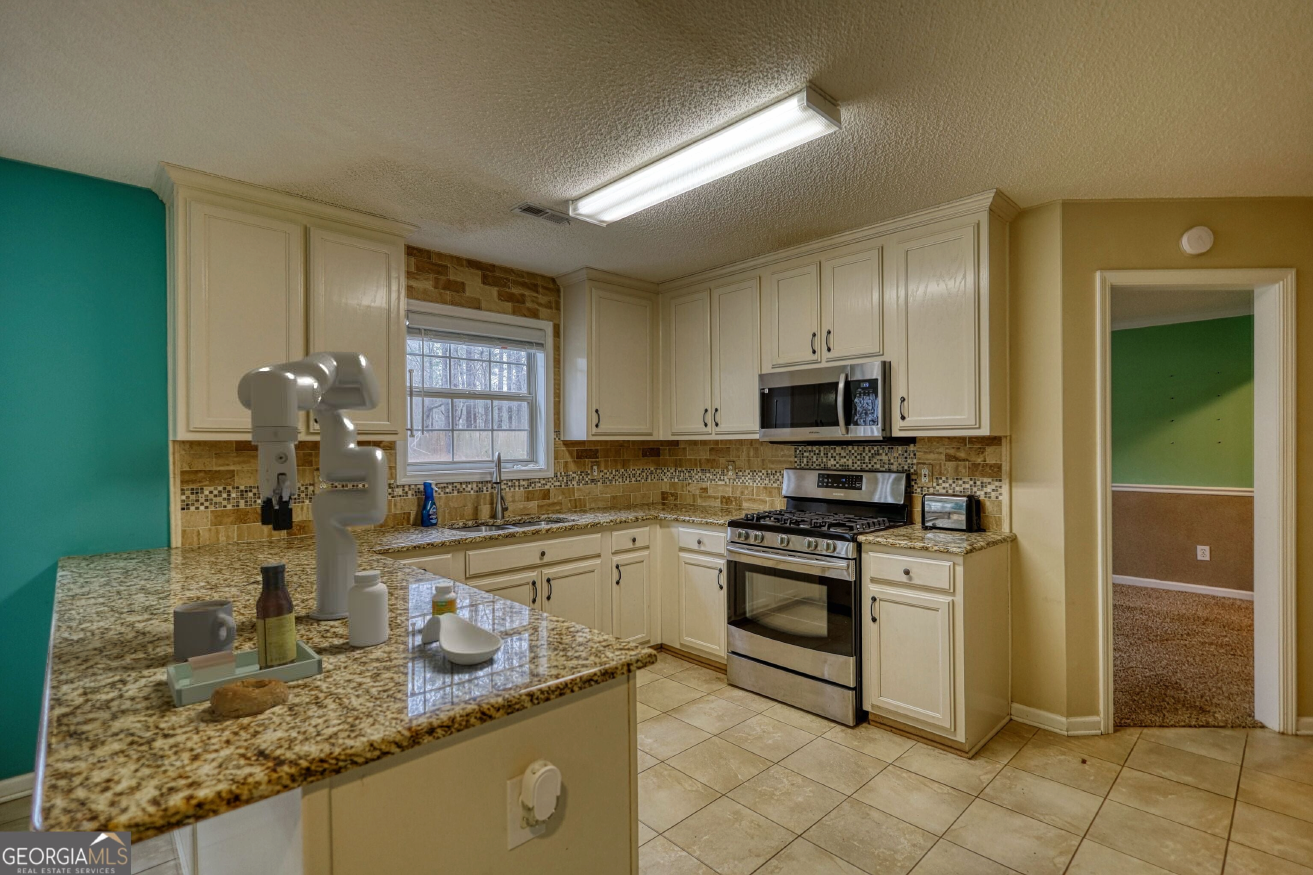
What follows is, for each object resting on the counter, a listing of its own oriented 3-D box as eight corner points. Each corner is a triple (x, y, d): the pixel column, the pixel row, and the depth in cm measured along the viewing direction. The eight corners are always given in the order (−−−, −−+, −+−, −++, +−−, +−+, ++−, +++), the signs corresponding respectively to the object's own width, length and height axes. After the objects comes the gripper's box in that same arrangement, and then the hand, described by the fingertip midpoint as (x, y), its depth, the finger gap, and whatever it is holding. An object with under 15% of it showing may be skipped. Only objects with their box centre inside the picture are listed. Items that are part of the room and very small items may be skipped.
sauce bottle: (303, 664, 123) (302, 560, 123) (281, 676, 116) (280, 567, 117) (272, 663, 123) (271, 560, 124) (248, 675, 117) (247, 567, 117)
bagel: (281, 715, 101) (281, 684, 101) (200, 726, 98) (199, 695, 98) (295, 693, 110) (295, 665, 111) (222, 702, 107) (221, 674, 107)
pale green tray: (300, 655, 129) (300, 640, 129) (322, 675, 118) (322, 658, 118) (167, 683, 115) (166, 666, 115) (176, 709, 103) (176, 689, 103)
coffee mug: (164, 657, 130) (164, 608, 130) (218, 643, 138) (218, 597, 138) (196, 668, 123) (195, 616, 123) (251, 653, 131) (250, 604, 132)
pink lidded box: (230, 675, 117) (230, 649, 118) (237, 684, 113) (236, 658, 113) (187, 684, 113) (187, 658, 113) (192, 694, 108) (192, 667, 108)
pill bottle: (339, 645, 136) (338, 574, 136) (369, 634, 143) (368, 567, 144) (367, 649, 133) (367, 577, 133) (396, 638, 140) (396, 569, 141)
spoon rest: (514, 660, 126) (513, 624, 126) (459, 676, 117) (458, 637, 117) (454, 636, 142) (454, 603, 142) (403, 648, 134) (402, 614, 134)
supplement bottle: (434, 630, 146) (433, 587, 146) (430, 624, 151) (430, 583, 151) (458, 627, 148) (457, 585, 149) (454, 621, 153) (453, 581, 153)
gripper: (309, 436, 116) (310, 530, 116) (286, 436, 129) (288, 520, 129) (261, 437, 111) (263, 535, 111) (243, 436, 124) (244, 524, 124)
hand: (276, 527), depth 120 cm, fingers open, 9 cm apart
